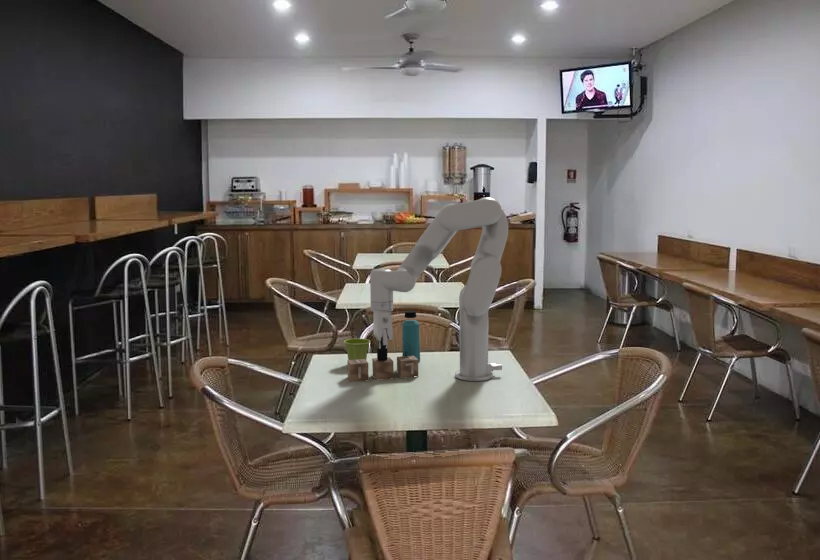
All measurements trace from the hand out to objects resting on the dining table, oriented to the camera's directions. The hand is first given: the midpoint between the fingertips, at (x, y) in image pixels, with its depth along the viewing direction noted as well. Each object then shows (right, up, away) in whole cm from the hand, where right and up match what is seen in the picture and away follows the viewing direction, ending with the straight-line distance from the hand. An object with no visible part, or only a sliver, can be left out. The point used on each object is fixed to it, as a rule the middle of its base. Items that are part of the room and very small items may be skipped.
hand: (382, 359), depth 240 cm
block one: (-8, -6, -1) cm, 10 cm away
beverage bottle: (+10, -4, +14) cm, 18 cm away
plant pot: (-10, -4, +18) cm, 21 cm away
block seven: (+8, -6, +3) cm, 11 cm away
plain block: (0, -6, +1) cm, 6 cm away
